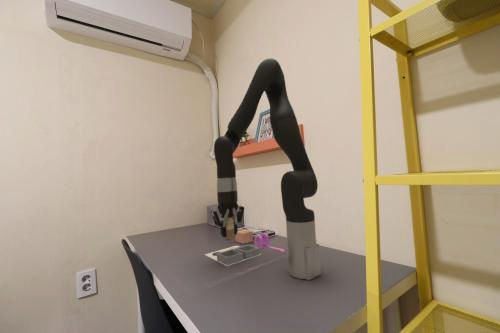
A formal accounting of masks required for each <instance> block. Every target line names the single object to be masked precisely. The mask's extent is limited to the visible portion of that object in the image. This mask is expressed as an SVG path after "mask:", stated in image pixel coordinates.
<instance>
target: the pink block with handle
mask: <svg viewBox="0 0 500 333" xmlns="http://www.w3.org/2000/svg"><path fill="white" fill-rule="evenodd" d="M253 243H254V245H253V246H255V247H258V248H260V250H262V249H264V247H266V248H270V249H273V250H277V251H279V252H283V253H285V249H284V248H279V247H275V246H271V245H270V237H269V234H268V233H267V232H263V233H261V234H256V235H255V236H253Z"/></svg>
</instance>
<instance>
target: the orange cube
mask: <svg viewBox="0 0 500 333" xmlns="http://www.w3.org/2000/svg"><path fill="white" fill-rule="evenodd" d="M235 242H236V243H240V244H247V243H254V231H252V230H250V229H247V228H246V229H245V228H244V229H241V230H238V232H237V234H236V235H235Z"/></svg>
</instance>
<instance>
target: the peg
mask: <svg viewBox="0 0 500 333" xmlns="http://www.w3.org/2000/svg"><path fill="white" fill-rule="evenodd" d="M225 227H226V237H225V238H224V237H223V240H224V241H234V240H236V237H235V234H234V217H228V219H227V221H226V226H225Z"/></svg>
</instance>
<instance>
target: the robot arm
mask: <svg viewBox="0 0 500 333" xmlns="http://www.w3.org/2000/svg"><path fill="white" fill-rule="evenodd" d="M264 93H265V95H266V97H267V99H268V103H269V122H270V127H271V131H272V135H273V138H274V140H275V142H276V143H277V145H278V147H279V148H280V149H281V150H282V151H283V153H284V154H285V155H286V156H287V158H288V159H289V161H290V163H291V166H292V169H293V170H291V171H290V170H289V171H286V172H285V173H284V174H283V175H282V177H281V181H280V191H281V202H282V209H283V213H284V216H285V226H286V244H287V245H286V246H287V259H288V260H287V261H288V273H289V275H290V276H291V277H293V278H294V279H295V278H296V279H299V280H307V281H311V280H312V279H314V278H317V277H318V276H320V275H321V274H322V268H321V267H322V266H321V257H320V256H321V255H320V253H321V252H320V244H319V243H317V237H316V236H317V235H316V232H317V231H316V219H315V212H314V210H313V209H309V208H307V207H306V204H305V199H306V198H307V199H308V198H311V197H313V196H315V195H316V194H317V192H318V179H317V177H316V173H315V171H314V168H313V166H312V164H311V161H310V159H309V156H308V153H307V151H306V147H305V144H304V141H303V138H302V135H301V131H300V128H299V127H300V126H299V123H298V120H297V117H296V114H295V111H294V109H293V107H292V104H291V102H290V99H289V96H288V92H287V85H286V79H285V74H284V72H283V69H282V67H281V65H280V63H279V61H278V60H276V59H275V58H271V57H270V58H266V59H264V60H263V61H261V62H260V63H259V64H258V66H257V68H256V70H255V72H254V74H253V77H252V79H251V81H250V83H249V86H248V88H247V90H246V92H245V94H244V96H243V99H242V100H241V103H240V105H239V106H238V108H237V109H236V111H235V113H234V114H233V116H232V118H231V119H230V120H229V123H228V124H227V130H226V132H225V134H224V135H223V136H222V135H221V136H219V137H217V138H216V139H215V141H214V144H213V153H214V159H215V163H216V180H217V181H216V192H217V193H216V194H217V203H218V204H217V206H216V207H217V208H216V209H214V210H211V211H210V214H211V217H212V220H213V223H214V225H215V226H217V227H220V228H219V230H220V236H221V237H222V238H223V239H224V238H225V237H226V227H225V226H226V221H227V219H228V217H234V234H235V235H236V234H237V232H238V231H239V230H238V224H239V223H241V222H242V221H243V216H244V213H245V207H244V206H240V205H239V204H238V202H239V200H238V199H239V198H238V183H237V175H236V173H237V172H236V165H235V163H234V153H235V152H236V150H237V148H238V146H239V144H240V143H241V141H242V139H243V137H244V134H245V133H246V132H247V131H248V129H249V127H250V125H252V122H253V120H254V118H255V116H256V112H257V111H258V110H257V109H258V106H259V104H260V101H261V98H262V96H263V94H264ZM219 214H220V215H219Z"/></svg>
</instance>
